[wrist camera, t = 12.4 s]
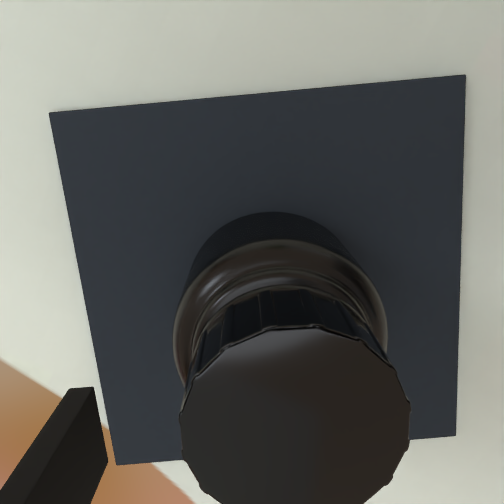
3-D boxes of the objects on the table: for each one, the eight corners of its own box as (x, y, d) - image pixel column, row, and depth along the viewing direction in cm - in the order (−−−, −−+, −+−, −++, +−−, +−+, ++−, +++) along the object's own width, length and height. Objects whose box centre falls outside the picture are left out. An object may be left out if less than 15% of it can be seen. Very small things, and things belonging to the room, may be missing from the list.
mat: (462, 75, 23) (466, 74, 23) (453, 431, 28) (456, 436, 28) (51, 112, 23) (48, 112, 23) (117, 461, 29) (116, 465, 28)
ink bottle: (177, 362, 26) (127, 549, 15) (181, 203, 24) (124, 279, 13) (352, 370, 27) (436, 558, 15) (372, 214, 24) (488, 297, 13)
